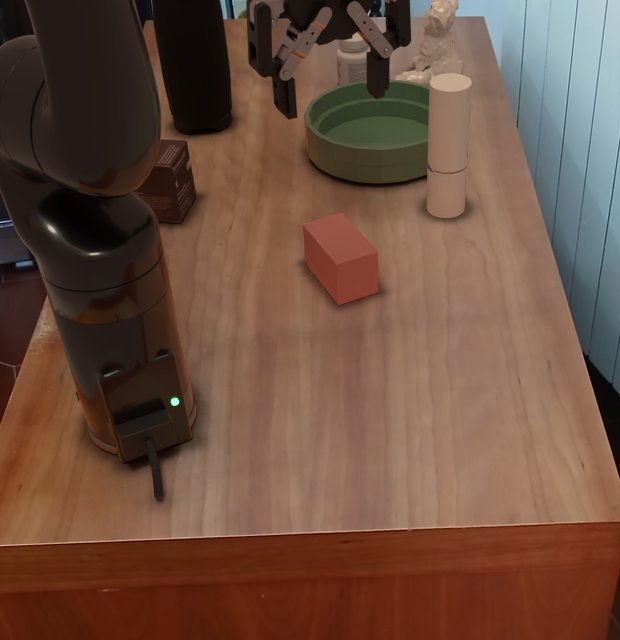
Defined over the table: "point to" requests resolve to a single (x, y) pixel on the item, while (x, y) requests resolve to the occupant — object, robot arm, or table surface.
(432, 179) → the tube
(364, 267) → the eraser
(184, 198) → the box
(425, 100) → the bowl
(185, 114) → the portable speaker
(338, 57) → the pill bottle
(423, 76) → the white creature statuette
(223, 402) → the table surface
